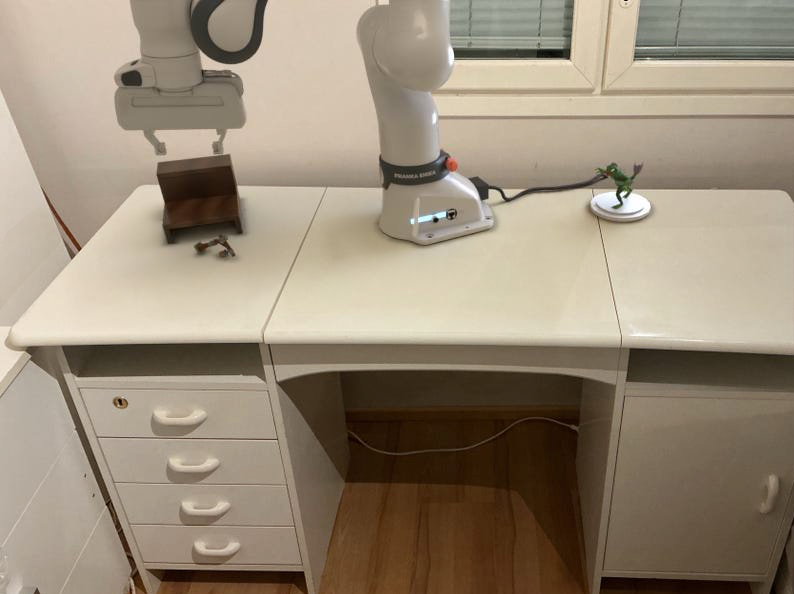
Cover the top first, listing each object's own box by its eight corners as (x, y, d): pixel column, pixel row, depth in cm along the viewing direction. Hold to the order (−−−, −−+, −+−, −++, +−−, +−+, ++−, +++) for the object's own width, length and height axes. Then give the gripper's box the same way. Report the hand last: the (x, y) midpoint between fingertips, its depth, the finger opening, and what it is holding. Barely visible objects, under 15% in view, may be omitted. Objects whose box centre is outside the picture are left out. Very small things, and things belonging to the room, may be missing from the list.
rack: (240, 199, 162) (230, 153, 156) (243, 233, 150) (232, 185, 144) (170, 208, 159) (157, 162, 153) (167, 244, 147) (153, 195, 141)
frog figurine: (579, 202, 159) (582, 154, 152) (628, 191, 163) (633, 144, 156) (610, 226, 150) (615, 177, 144) (661, 214, 154) (668, 165, 148)
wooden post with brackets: (235, 257, 140) (222, 235, 138) (206, 266, 144) (192, 245, 142) (241, 252, 142) (227, 231, 140) (211, 261, 146) (198, 240, 144)
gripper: (242, 64, 127) (254, 146, 135) (113, 65, 125) (133, 148, 133) (238, 75, 122) (250, 159, 130) (102, 76, 120) (124, 161, 128)
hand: (190, 153), depth 131 cm, fingers open, 8 cm apart
